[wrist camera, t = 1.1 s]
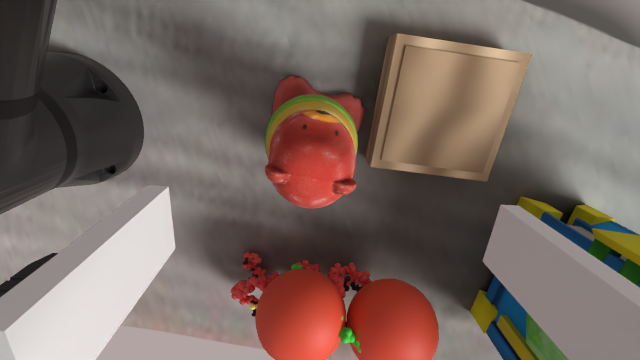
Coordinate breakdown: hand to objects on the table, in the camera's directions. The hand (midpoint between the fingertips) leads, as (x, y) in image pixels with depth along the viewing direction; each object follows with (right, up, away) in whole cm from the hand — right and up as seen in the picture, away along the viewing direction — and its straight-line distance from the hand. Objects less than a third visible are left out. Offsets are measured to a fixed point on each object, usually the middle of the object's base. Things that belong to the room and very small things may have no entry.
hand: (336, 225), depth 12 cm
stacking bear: (-1, +9, +25) cm, 27 cm away
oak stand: (+13, +10, +24) cm, 29 cm away
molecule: (0, -11, +32) cm, 34 cm away
